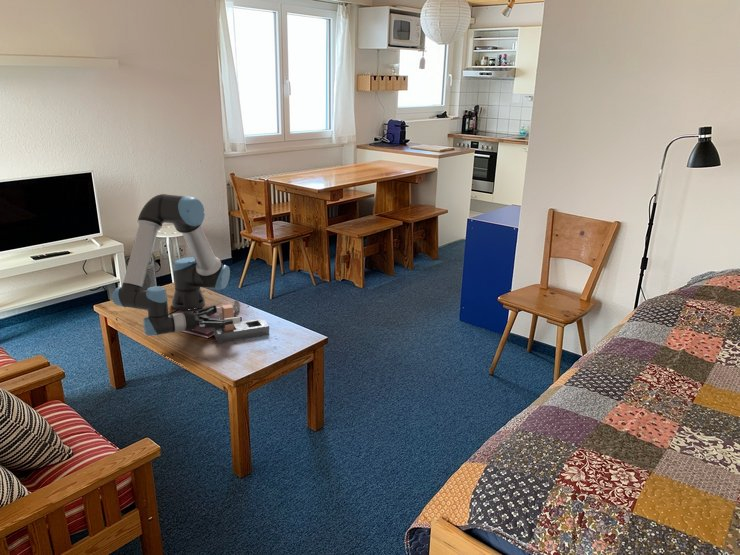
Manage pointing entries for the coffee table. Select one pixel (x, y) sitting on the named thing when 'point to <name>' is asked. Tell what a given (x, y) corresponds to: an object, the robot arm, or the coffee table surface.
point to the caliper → (234, 308)
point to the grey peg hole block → (242, 330)
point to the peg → (228, 316)
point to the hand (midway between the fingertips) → (235, 313)
